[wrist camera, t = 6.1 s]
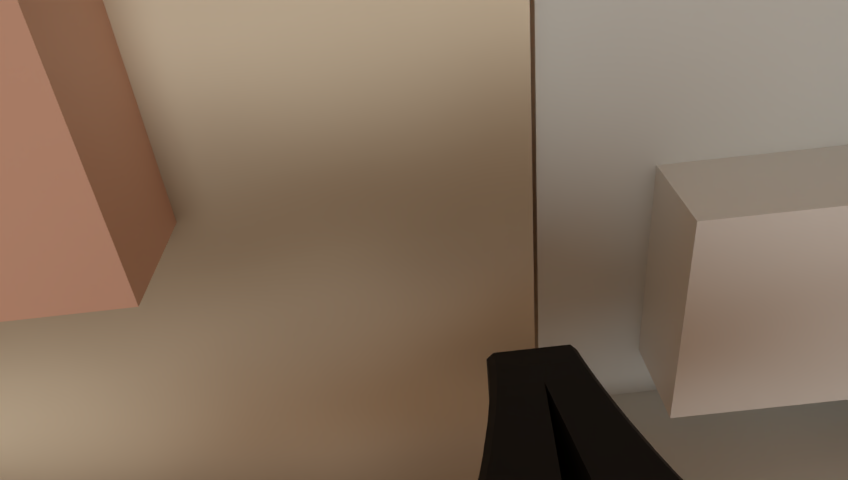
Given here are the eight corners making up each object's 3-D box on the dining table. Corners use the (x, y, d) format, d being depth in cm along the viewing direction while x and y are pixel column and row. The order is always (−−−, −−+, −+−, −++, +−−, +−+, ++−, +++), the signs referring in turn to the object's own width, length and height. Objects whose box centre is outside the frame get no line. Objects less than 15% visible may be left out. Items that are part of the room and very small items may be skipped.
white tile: (670, 418, 14) (638, 349, 16) (900, 393, 14) (844, 328, 16) (697, 221, 12) (656, 165, 13) (976, 191, 11) (900, 139, 13)
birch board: (512, 371, 17) (536, 476, 14) (83, 417, 17) (31, 531, 14) (488, -259, 10) (525, -272, 8) (-216, -179, 10) (-413, -165, 8)
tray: (857, 373, 17) (956, 495, 14) (534, 408, 17) (566, 537, 14) (1118, -453, 9) (1460, -559, 6) (521, -383, 9) (588, -459, 6)
